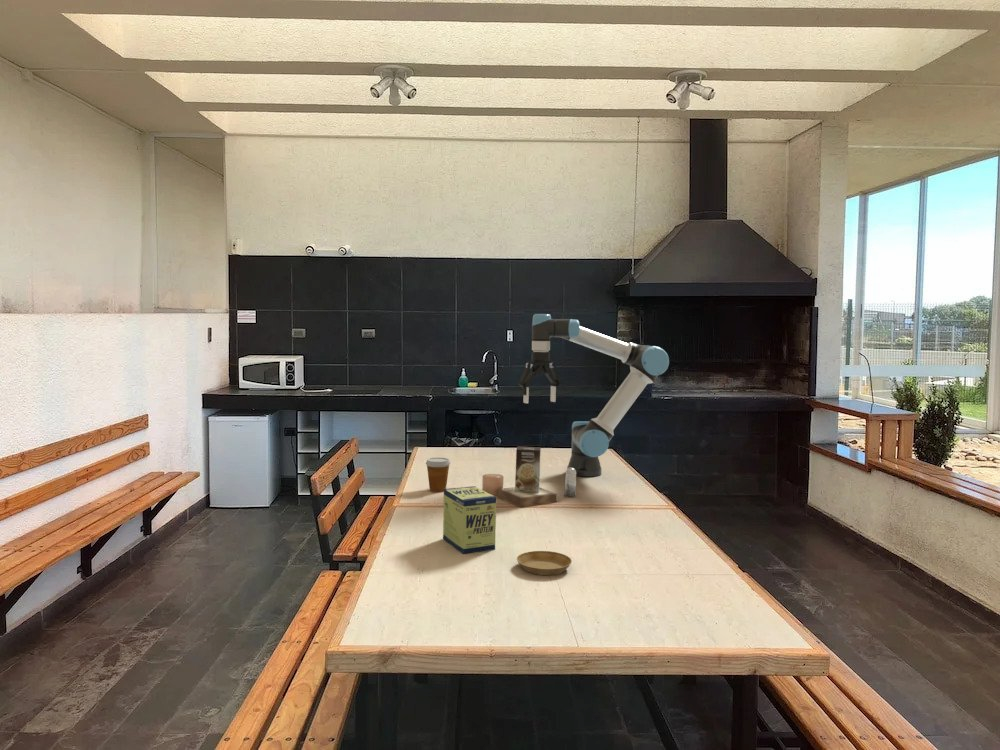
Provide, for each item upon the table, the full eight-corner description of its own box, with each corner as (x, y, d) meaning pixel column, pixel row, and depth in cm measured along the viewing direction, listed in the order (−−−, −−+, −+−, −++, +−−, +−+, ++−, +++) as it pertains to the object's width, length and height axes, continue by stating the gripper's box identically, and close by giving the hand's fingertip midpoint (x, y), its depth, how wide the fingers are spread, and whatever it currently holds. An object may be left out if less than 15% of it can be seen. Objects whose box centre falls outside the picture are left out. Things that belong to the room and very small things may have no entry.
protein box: (463, 554, 197) (464, 500, 196) (442, 539, 211) (442, 488, 210) (496, 549, 202) (497, 496, 201) (473, 534, 215) (474, 485, 214)
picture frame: (532, 492, 271) (532, 484, 270) (556, 501, 257) (556, 493, 257) (497, 497, 262) (497, 488, 262) (520, 507, 249) (520, 498, 248)
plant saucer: (516, 558, 195) (516, 549, 195) (569, 560, 194) (569, 551, 194) (516, 577, 180) (516, 568, 180) (573, 579, 180) (573, 569, 180)
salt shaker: (571, 494, 269) (572, 466, 268) (577, 496, 266) (578, 467, 265) (562, 495, 267) (563, 466, 266) (569, 497, 264) (570, 468, 263)
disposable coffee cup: (421, 491, 269) (421, 460, 268) (432, 486, 278) (432, 456, 277) (443, 494, 265) (443, 462, 265) (454, 488, 274) (454, 458, 273)
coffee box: (514, 492, 257) (515, 449, 256) (515, 488, 263) (516, 446, 262) (539, 493, 256) (540, 450, 255) (540, 489, 262) (541, 447, 261)
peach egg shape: (496, 490, 273) (496, 473, 272) (507, 495, 266) (507, 477, 265) (478, 492, 268) (478, 475, 268) (488, 497, 262) (489, 479, 261)
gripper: (559, 350, 298) (558, 400, 299) (510, 351, 285) (509, 402, 287) (570, 351, 291) (569, 402, 293) (520, 351, 279) (519, 404, 280)
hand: (539, 402), depth 290 cm, fingers open, 13 cm apart
